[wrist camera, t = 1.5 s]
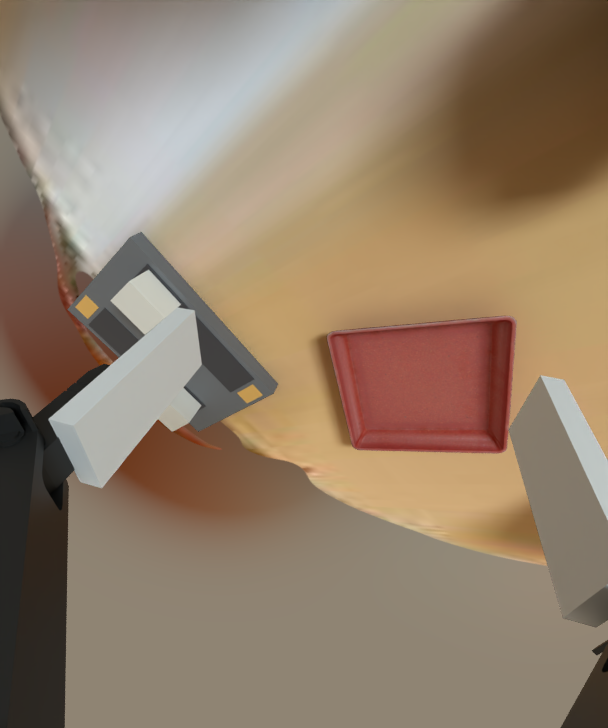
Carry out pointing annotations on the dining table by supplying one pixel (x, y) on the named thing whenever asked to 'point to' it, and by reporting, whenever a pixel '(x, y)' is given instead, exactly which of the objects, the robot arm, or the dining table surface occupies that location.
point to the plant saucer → (427, 384)
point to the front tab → (145, 301)
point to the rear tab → (180, 411)
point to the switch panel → (217, 343)
